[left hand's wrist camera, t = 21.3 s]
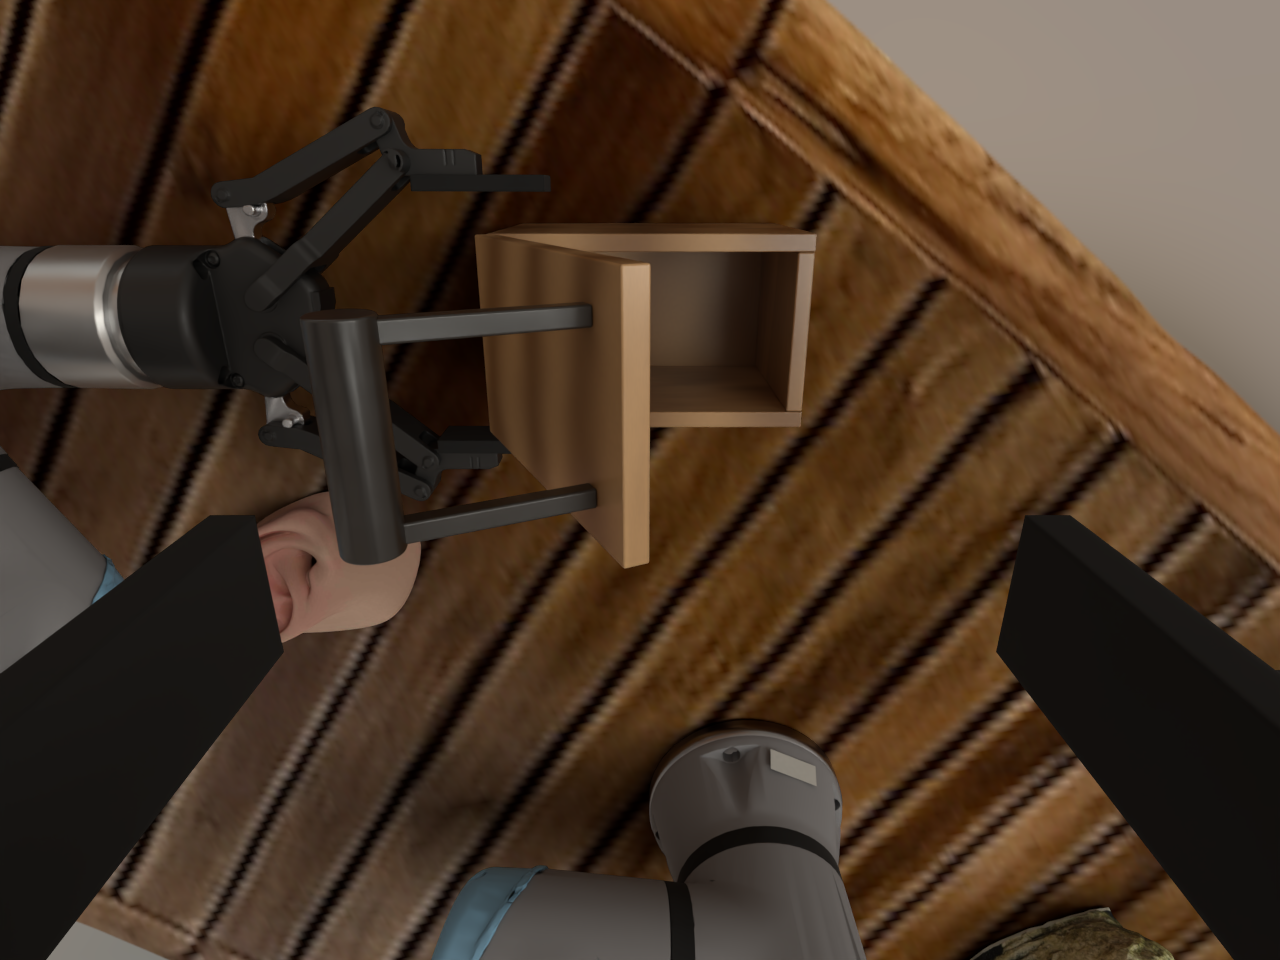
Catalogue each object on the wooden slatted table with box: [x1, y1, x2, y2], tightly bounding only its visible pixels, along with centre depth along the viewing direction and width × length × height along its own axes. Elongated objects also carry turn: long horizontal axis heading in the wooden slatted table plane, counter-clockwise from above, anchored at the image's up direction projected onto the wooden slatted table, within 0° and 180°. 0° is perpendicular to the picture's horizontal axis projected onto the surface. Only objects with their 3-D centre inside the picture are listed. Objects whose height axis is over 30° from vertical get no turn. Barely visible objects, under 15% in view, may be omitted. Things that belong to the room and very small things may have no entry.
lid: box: [300, 234, 651, 568], centre depth 26 cm, size 16×9×9 cm
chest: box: [488, 223, 817, 427], centre depth 40 cm, size 15×9×11 cm, turn 90°
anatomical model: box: [257, 492, 421, 643], centre depth 50 cm, size 13×4×12 cm
